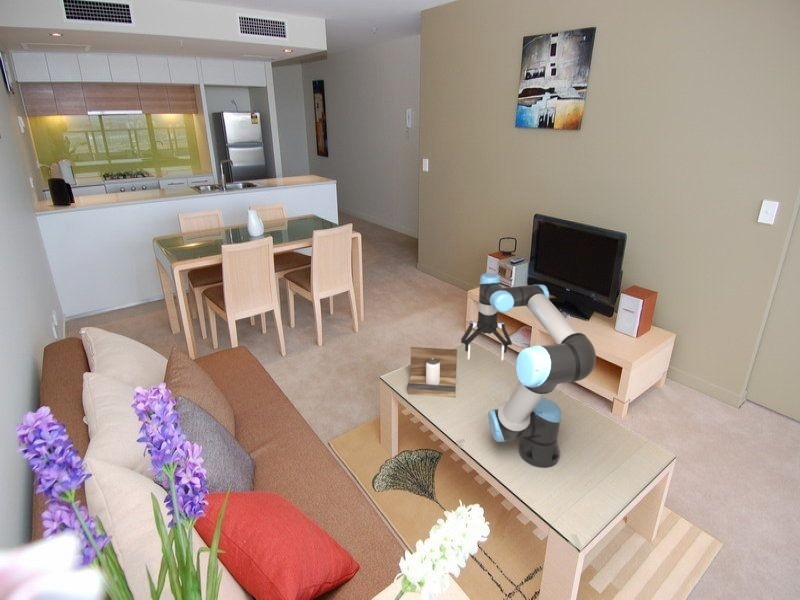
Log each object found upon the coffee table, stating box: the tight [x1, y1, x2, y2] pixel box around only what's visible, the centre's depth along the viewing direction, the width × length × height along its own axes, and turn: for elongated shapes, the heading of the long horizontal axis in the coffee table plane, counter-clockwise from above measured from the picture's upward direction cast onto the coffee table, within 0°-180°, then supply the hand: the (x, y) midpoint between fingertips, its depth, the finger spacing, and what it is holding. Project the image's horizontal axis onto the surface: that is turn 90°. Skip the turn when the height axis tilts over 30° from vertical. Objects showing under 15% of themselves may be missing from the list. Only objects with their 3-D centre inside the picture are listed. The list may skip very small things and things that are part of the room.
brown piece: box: [407, 346, 458, 398], centre depth 218 cm, size 13×22×18 cm, turn 83°
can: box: [426, 358, 440, 385], centre depth 217 cm, size 6×6×12 cm
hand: (485, 358), depth 192 cm, fingers open, 13 cm apart
